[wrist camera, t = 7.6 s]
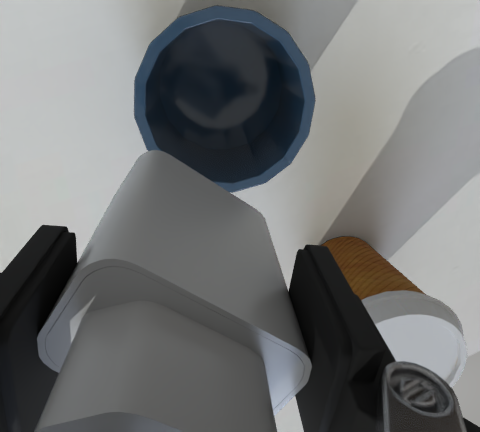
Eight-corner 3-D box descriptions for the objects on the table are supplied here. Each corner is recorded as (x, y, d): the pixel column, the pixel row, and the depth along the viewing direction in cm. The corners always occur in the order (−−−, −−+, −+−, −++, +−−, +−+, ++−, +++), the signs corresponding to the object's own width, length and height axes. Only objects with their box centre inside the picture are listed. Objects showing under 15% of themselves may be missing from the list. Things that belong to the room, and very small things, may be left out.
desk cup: (154, 4, 26) (134, -7, 19) (297, 23, 27) (330, 21, 20) (150, 147, 30) (133, 184, 23) (275, 159, 31) (297, 198, 24)
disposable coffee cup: (300, 320, 38) (339, 436, 27) (278, 236, 34) (312, 332, 23) (398, 294, 38) (476, 400, 27) (386, 205, 33) (473, 288, 23)
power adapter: (227, 279, 16) (275, 800, 5) (104, 211, 14) (-205, 769, 4) (274, 221, 15) (453, 709, 4) (148, 141, 13) (-88, 606, 3)
